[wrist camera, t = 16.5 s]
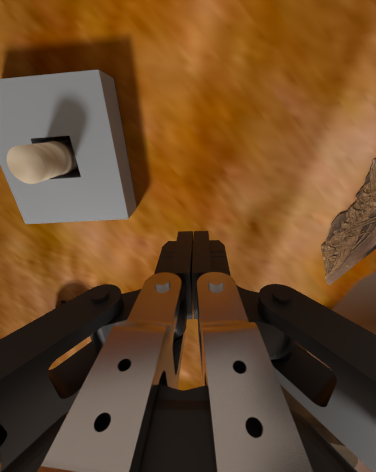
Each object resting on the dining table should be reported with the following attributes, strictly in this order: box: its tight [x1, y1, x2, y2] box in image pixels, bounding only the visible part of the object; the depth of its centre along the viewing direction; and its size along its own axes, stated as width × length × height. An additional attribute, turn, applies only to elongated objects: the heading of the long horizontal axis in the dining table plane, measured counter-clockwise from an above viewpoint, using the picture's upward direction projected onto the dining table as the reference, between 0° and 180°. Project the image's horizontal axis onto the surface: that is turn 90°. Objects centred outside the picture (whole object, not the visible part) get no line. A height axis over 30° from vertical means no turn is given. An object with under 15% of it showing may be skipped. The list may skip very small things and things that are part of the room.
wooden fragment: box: [322, 159, 376, 285], centre depth 37 cm, size 26×11×1 cm, turn 162°
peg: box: [7, 141, 78, 184], centre depth 29 cm, size 4×4×11 cm
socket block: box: [0, 70, 137, 224], centre depth 32 cm, size 18×16×5 cm
